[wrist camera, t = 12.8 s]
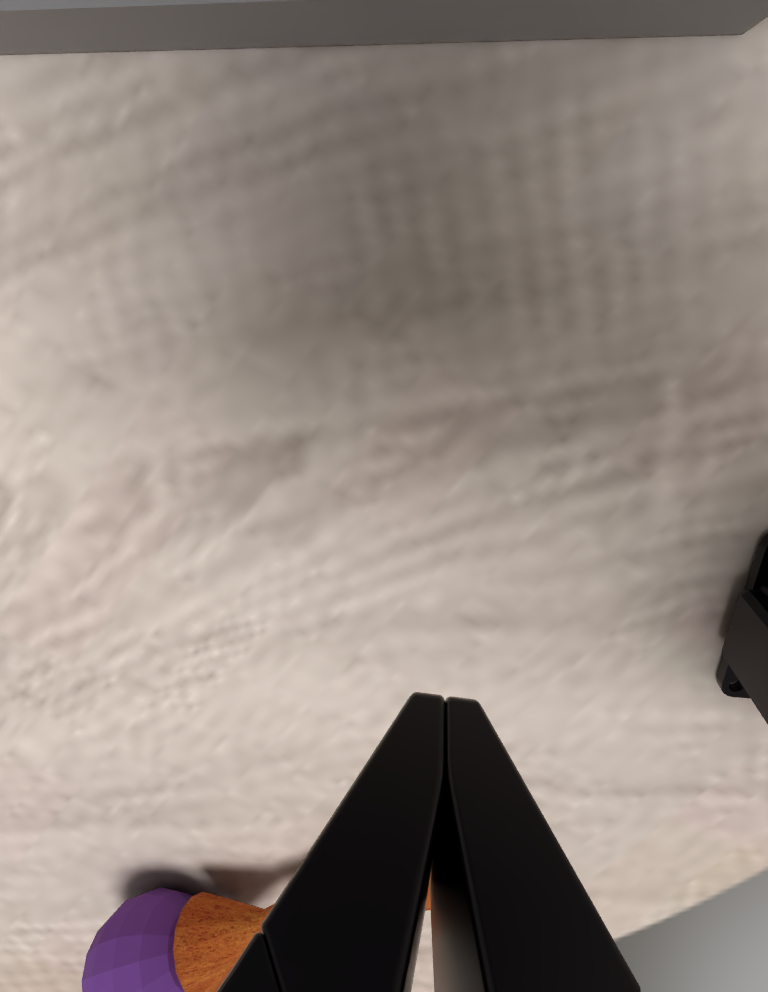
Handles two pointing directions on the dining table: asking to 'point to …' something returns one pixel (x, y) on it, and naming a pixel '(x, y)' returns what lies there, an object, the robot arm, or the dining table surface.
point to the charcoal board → (350, 22)
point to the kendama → (172, 943)
